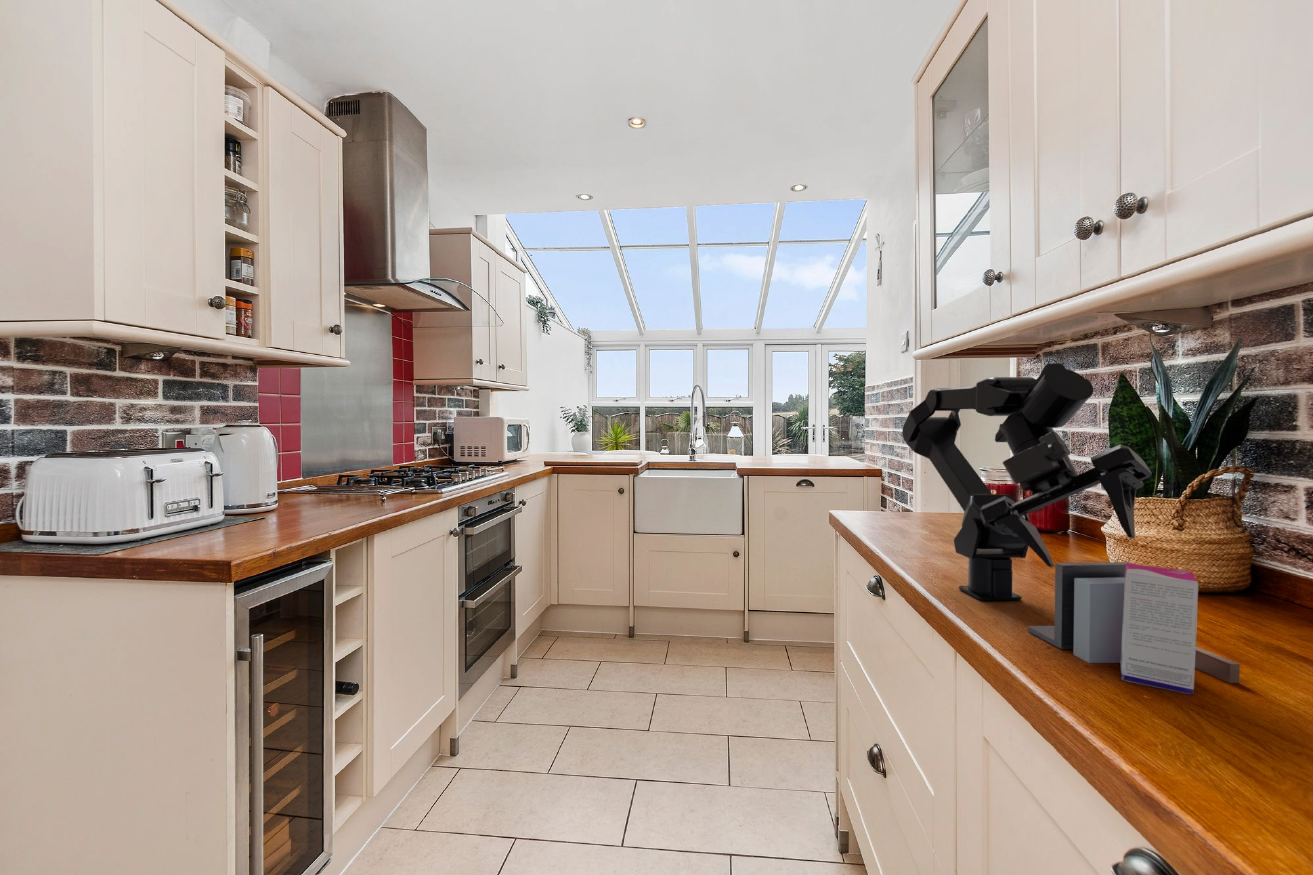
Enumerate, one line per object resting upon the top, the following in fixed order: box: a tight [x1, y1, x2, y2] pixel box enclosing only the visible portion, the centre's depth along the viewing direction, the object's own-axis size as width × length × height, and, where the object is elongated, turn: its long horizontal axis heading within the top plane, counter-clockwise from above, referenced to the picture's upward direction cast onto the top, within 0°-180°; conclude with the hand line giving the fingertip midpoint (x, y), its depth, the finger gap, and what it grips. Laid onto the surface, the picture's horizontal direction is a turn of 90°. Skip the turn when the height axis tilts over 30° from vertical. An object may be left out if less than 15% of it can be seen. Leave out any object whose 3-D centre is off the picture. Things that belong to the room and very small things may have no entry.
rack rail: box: [1195, 645, 1241, 684], centre depth 69 cm, size 15×1×2 cm, turn 2°
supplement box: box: [1120, 563, 1199, 695], centre depth 63 cm, size 6×6×12 cm
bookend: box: [1026, 561, 1134, 650], centre depth 74 cm, size 6×9×10 cm
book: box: [1072, 577, 1125, 664], centre depth 68 cm, size 2×8×9 cm, turn 92°
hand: (1089, 552), depth 72 cm, fingers open, 9 cm apart
